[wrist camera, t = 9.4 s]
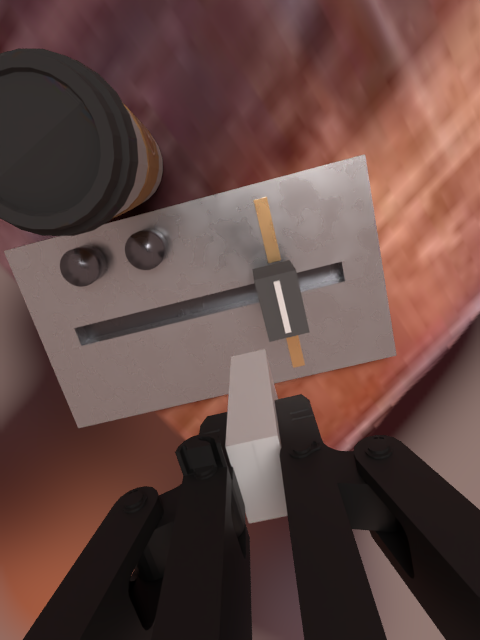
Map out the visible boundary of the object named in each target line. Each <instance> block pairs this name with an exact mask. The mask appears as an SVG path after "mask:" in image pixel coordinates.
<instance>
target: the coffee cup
mask: <svg viewBox="0 0 480 640" xmlns="http://www.w3.org/2000/svg"><path fill="white" fill-rule="evenodd" d="M162 173H163V160H162V156H161V153H160V149H159V147H158V145H157V143H156V142H155V140H154V138H153V137H152V136H151V134H150V132H149V131H148V130H147V129H146V127H145V126H144V125H143V124H142V123H141V122H140V121H139V120H138V119H137V118H136V116H135V115H134V114H133V113H132V112H131V111H130V110H129V109H128V108H127V107H126V106H125V105H124V104H123V103H122V101H121V99H120V97H119V96H118V94H117V93H116V91H115V90H114V89H113V88H112V87H111V86H110V85H109V84H108V83H107V82H106V81H105V80H104V79H103V78H102V77H101V76H100V75H99V74H98V73H96V72H95V71H93V70H91V69H90V68H88V67H87V66H85V65H83V64H82V63H80V62H79V61H77V60H73V59H71V58H69V57H67V56H64V55H61V54H58V53H55V52H51V51H48V50H45V49H16V50H12V51H7V52H4V53H1V54H0V218H1V219H3V220H5V221H6V222H8V223H10V224H12V225H14V226H16V227H17V228H19V229H21V230H25V231H28V232H32V233H36V234H39V235H52V236H75V235H79V234H82V233H86V232H90V231H93V230H95V229H97V228H98V227H100V226H102V225H103V224H105V223H107V222H108V221H110V220H111V219H112V218H115V217H117V216H119V215H121V214H123V213H125V212H127V211H130V210H132V209H133V208H135V207H136V206H138V205H140V204H141V203H143V202H145V201H146V200H148V199H149V198H150V197H151V196H152V195H153V194H154V193H155V192H156V190H157V188H158V186H159V184H160V182H161V177H162Z"/></svg>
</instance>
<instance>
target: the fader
mask: <svg viewBox="0 0 480 640" xmlns="http://www.w3.org/2000/svg"><path fill="white" fill-rule="evenodd" d="M252 270H253V277H254V283H255V287H256V291H257V295H258V299H259V303H260V307H261V311H262V315H263V319H264V323H265V327H266V331H267V335H268V339H269V342H272V341H276V340H280V339H284V338H288V337H293V336H297V335H301V334H305V333H310V331H309V327H308V322H307V318H306V313H305V308H304V304H303V299H302V295H301V290H300V285H299V281H298V276H297V272H296V269H295V267H294V266H293V264H292V263H291V261H290V260H287V261H283V262H279V263H275V264H271V265H267V266H263V267H259V268H255V269H252Z"/></svg>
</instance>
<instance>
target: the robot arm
mask: <svg viewBox="0 0 480 640" xmlns="http://www.w3.org/2000/svg"><path fill="white" fill-rule="evenodd" d="M175 453H176V456H177V459H178V461H179V465H180V467H181V470H182V473H183V481H182V484H181V485H180V486H178V487H176V488H174V489H172V490H170V491H168V492H166V493H164V494H161V495H158V492H157V490H155V489H154V488H153V487H147V486H146V487H139V488H136V489H133V490H131V491H129V492H127V493H126V494H124V495H123V496H122V497H120V499H119V500H118V501H117V502H116V503H115V504H114V506H113V507H112V508H111V510H110V511H109V513H108V515H107V516H106V518H105V519H104V520H103V522H102V523H101V525H100V526H99V528H98V529H97V531H96V532H95V534H94V535H93V537H92V538H91V540H90V541H89V543H88V544H87V545H86V547H85V548H84V550H83V551H82V553H81V554H80V556H79V557H78V559H77V560H76V562H75V563H74V565H73V566H72V568H71V569H70V571H69V572H68V574H67V575H66V576H65V578H64V580H63V581H62V582H61V584H60V585H59V587H58V588H57V590H56V591H55V593H54V594H53V596H52V597H51V599H50V600H49V602H48V603H47V605H46V606H45V607H44V609H43V610H42V612H41V613H40V615H39V617H38V618H37V619H36V621H35V622H34V624H33V625H32V627H31V628H30V630H29V631H28V633H27V634H26V636H25V637H24V639H23V640H252V617H251V581H250V580H251V576H250V537H249V534H248V530H247V527H246V524H245V512H246V516H247V519H248V522H249V523H254V522H259V521H264V520H269V519H274V518H279V517H283V516H288V521H289V529H290V537H291V543H292V551H293V559H294V566H295V573H296V581H297V588H298V595H299V603H300V610H301V618H302V625H303V632H304V640H387V639H386V636H385V632H384V629H383V626H382V623H381V620H380V616H379V613H378V610H377V607H376V604H375V601H374V598H373V595H372V591H371V588H370V585H369V582H368V579H367V576H366V573H365V570H364V566H363V563H362V560H361V557H360V554H359V550H358V548H357V544H356V541H355V538H354V535H353V532H352V529H361V530H369V531H370V533H371V536H372V537H373V539H374V540H375V542H376V543H377V545H378V546H379V547H380V549H381V550H382V551H383V553H384V554H385V556H386V557H387V558H388V559H389V561H390V562H391V564H392V565H393V567H394V568H395V570H396V571H397V572H398V574H399V575H400V576H401V578H402V579H403V581H404V582H405V584H406V585H407V586H408V588H409V589H410V590H411V592H412V593H413V594H414V596H415V597H416V599H417V600H418V602H419V603H420V604H421V606H422V607H423V609H424V610H425V611H426V613H427V614H428V615H429V617H430V618H431V619H432V621H433V622H434V624H435V625H436V626H437V628H438V629H439V631H440V632H441V634H442V635H443V636H444V638H445V639H446V640H480V510H479V509H478V508H477V507H476V506H475V505H473V504H472V503H471V502H470V501H469V500H468V499H466V498H465V497H464V496H463V495H462V494H461V493H460V492H458V491H457V490H456V489H455V488H454V487H453V486H452V485H450V484H449V483H448V482H447V481H446V480H445V479H444V478H442V477H441V476H440V475H439V474H438V473H437V472H435V471H434V470H433V469H432V468H431V467H430V466H429V465H427V464H426V463H425V462H424V461H423V460H422V459H420V458H419V457H418V456H417V455H416V454H415V453H414V452H412V451H411V450H410V449H409V448H408V447H407V446H405V445H404V444H403V443H402V442H401V441H399V440H397V439H396V438H394V437H390V436H386V435H375V436H371V437H366V438H364V439H363V440H361V441H359V442H358V443H357V444H356V446H355V447H354V451H338V450H334V449H332V448H330V447H328V446H326V445H325V444H324V443H323V441H322V439H321V436H320V433H319V429H318V426H317V423H316V420H315V417H314V414H313V411H312V407H311V404H310V401H309V399H307V398H306V397H304V396H303V395H302V394H300V395H296V396H291V397H287V398H283V399H278V397H277V394H276V390H275V386H274V382H273V378H272V374H271V370H270V366H269V362H268V358H267V354H266V350H265V349H262V350H258V351H254V352H249V353H245V354H241V355H237V356H232V357H231V366H230V382H229V397H228V412H225V413H221V414H216V415H212V416H207V418H206V419H205V420H204V422H203V423H202V424H201V426H200V432H199V435H196V436H193V437H191V438H189V439H187V440H186V441H184V442H183V443H182V444H181V445H180V446H179V447H178V448H177V450H176V452H175ZM134 569H135V570H134ZM133 571H134V572H133ZM132 572H133V574H132ZM131 575H132V576H131Z"/></svg>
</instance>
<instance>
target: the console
mask: <svg viewBox="0 0 480 640" xmlns="http://www.w3.org/2000/svg"><path fill="white" fill-rule="evenodd" d="M4 253H5V255H6V257H7V260H8V262H9V265H10V267H11V269H12V272H13V274H14V276H15V279H16V281H17V284H18V286H19V288H20V291H21V293H22V295H23V298H24V300H25V302H26V305H27V307H28V310H29V312H30V314H31V317H32V319H33V322H34V324H35V326H36V329H37V331H38V333H39V336H40V338H41V341H42V343H43V345H44V347H45V350H46V352H47V355H48V357H49V360H50V362H51V364H52V367H53V369H54V371H55V374H56V376H57V379H58V381H59V383H60V386H61V388H62V391H63V393H64V395H65V398H66V400H67V402H68V405H69V407H70V409H71V412H72V414H73V416H74V419H75V421H76V424H77V426H78V428H82V427H86V426H90V425H95V424H99V423H104V422H108V421H112V420H117V419H121V418H125V417H130V416H134V415H139V414H143V413H147V412H152V411H156V410H160V409H165V408H169V407H174V406H178V405H182V404H187V403H191V402H195V401H200V400H204V399H208V398H213V397H217V396H222V395H226V394H229V382H230V366H231V357H232V356H237V355H241V354H245V353H249V352H254V351H258V350H262V349H265V350H266V354H267V358H268V362H269V366H270V370H271V374H272V378H273V382H274V383H278V382H283V381H287V380H292V379H296V378H300V377H305V376H309V375H313V374H318V373H322V372H327V371H331V370H335V369H340V368H344V367H348V366H353V365H357V364H361V363H366V362H370V361H375V360H379V359H383V358H388V357H392V356H396V350H395V343H394V337H393V330H392V324H391V317H390V311H389V305H388V298H387V292H386V285H385V279H384V273H383V266H382V260H381V253H380V247H379V241H378V234H377V228H376V221H375V215H374V209H373V202H372V196H371V189H370V183H369V176H368V170H367V164H366V157H365V155H361V156H357V157H353V158H350V159H346V160H342V161H338V162H335V163H331V164H327V165H324V166H320V167H316V168H312V169H309V170H305V171H301V172H297V173H294V174H290V175H286V176H282V177H279V178H275V179H271V180H268V181H264V182H260V183H256V184H253V185H249V186H245V187H241V188H238V189H234V190H230V191H226V192H223V193H219V194H215V195H212V196H208V197H204V198H200V199H197V200H193V201H189V202H185V203H182V204H178V205H174V206H171V207H167V208H163V209H159V210H156V211H152V212H148V213H144V214H141V215H137V216H133V217H129V218H126V219H122V220H118V221H115V222H111V223H107V224H103V225H102V226H100V227H98V228H97V229H95V230H93V231H90V232H86V233H82V234H79V235H75V236H59V237H55V238H51V239H47V240H44V241H40V242H36V243H32V244H29V245H25V246H21V247H18V248H14V249H10V250H6V251H4ZM287 260H290V261H291V263H292V264H293V266H294V267H295V269H296V272H297V276H298V281H299V285H300V290H301V295H302V299H303V304H304V308H305V313H306V318H307V322H308V327H309V331H310V333H305V334H301V335H297V336H293V337H288V338H284V339H280V340H276V341H272V342H269V339H268V335H267V331H266V327H265V323H264V319H263V315H262V311H261V307H260V303H259V299H258V295H257V291H256V287H255V283H254V277H253V270H252V269H255V268H259V267H263V266H267V265H271V264H275V263H279V262H283V261H287Z"/></svg>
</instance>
